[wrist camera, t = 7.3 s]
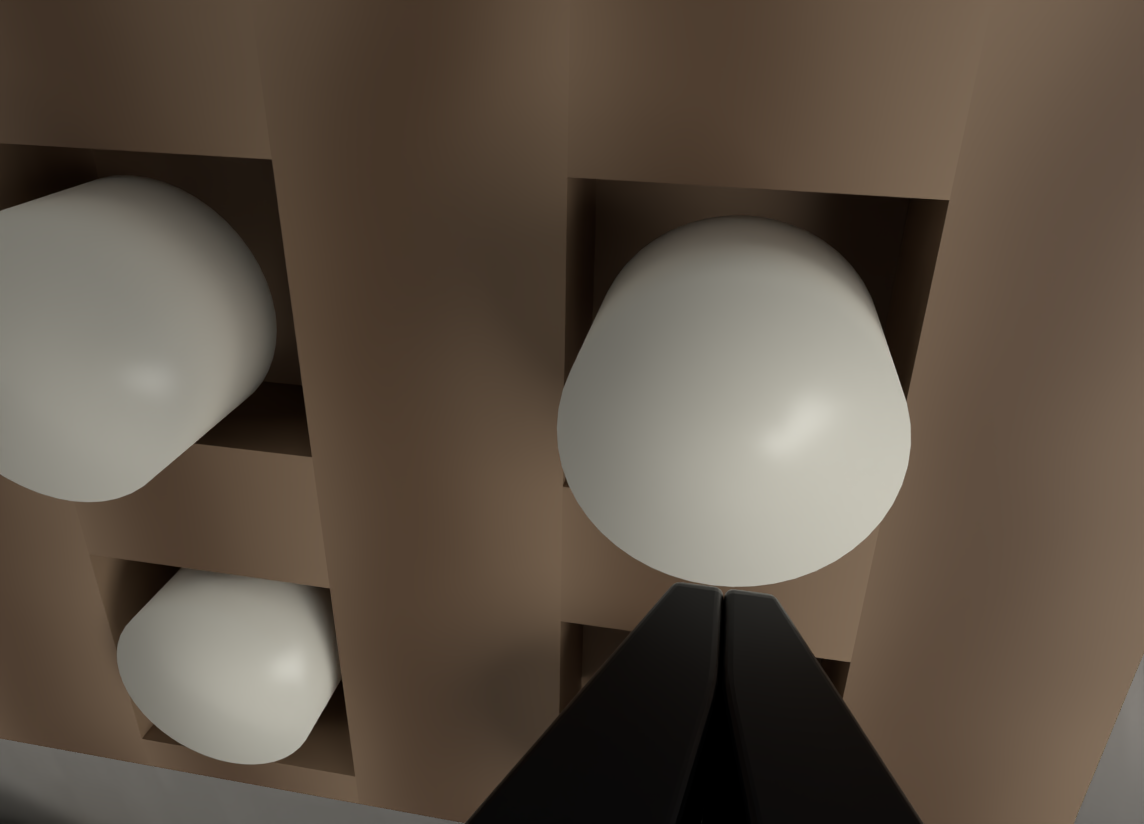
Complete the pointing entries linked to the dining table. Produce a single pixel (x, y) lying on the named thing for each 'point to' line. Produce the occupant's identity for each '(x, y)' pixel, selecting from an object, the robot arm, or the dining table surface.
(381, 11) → the button board
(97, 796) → the dining table surface
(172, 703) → the inner button
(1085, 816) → the dining table surface
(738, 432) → the outer button
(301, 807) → the dining table surface
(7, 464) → the outer button
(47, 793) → the dining table surface
